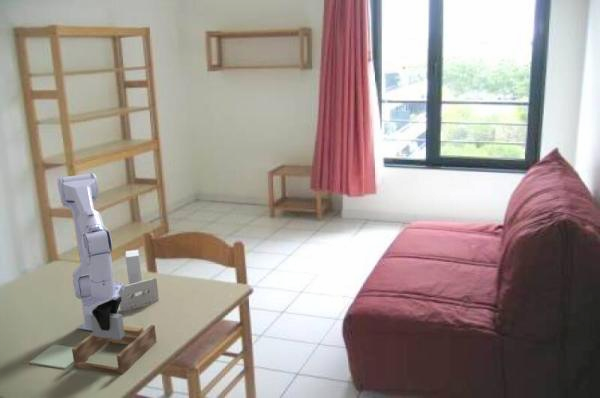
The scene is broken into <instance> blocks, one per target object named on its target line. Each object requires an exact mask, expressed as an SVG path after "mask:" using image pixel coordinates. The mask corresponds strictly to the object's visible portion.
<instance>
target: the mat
mask: <svg viewBox="0 0 600 398" xmlns="http://www.w3.org/2000/svg"><path fill="white" fill-rule="evenodd" d="M74 347H75V346H73V347H72V346H65V345H58V344H52V345H51V346H49V347H48V348H47V349H45V350H44V351H43V352H41V353H39V355H37V356H36V357H34V358H33V359H31V360H30V361H29V364H32V365H38V366H43V367H51V368H56V369H62V370H66V369H68V368H70V366H71V365H73V364H74V359H73V353H72V349H73V348H74Z"/></svg>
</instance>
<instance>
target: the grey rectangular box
mask: <svg viewBox="0 0 600 398" xmlns="http://www.w3.org/2000/svg"><path fill="white" fill-rule="evenodd" d="M90 317H91V324H92V330H93V331H92V333H93V336H97V337H104V338H112V339H122V338H123V337H124V336H125V333H124V326H123V325H124V319H123V315H122V314H121V313H118V314H114V313H110V329H109V330H108V331H105V330H101V328H100V326H99V324H98V322H97V320H96V318H95V317H94V315H93V314H90Z"/></svg>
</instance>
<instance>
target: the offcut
mask: <svg viewBox="0 0 600 398" xmlns="http://www.w3.org/2000/svg"><path fill="white" fill-rule="evenodd" d="M123 326H124V333H125V336H124V337H123V338H122V339H112V338H111V340H110V342H111V343H113V342H114V343H115V344H122V345H127V346H128V345H129V344H130V343H132V342H133V341H134V340H135V339H136V338H137V337H138V336H140V335H141V334H142V333H143V332H144V331H145V330H144V327H143V326H137V325H129V324H123ZM114 343H113V344H114Z"/></svg>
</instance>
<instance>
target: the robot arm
mask: <svg viewBox="0 0 600 398" xmlns="http://www.w3.org/2000/svg"><path fill="white" fill-rule="evenodd" d="M57 187H58V193H59V198H60V203H61V204H62V207H67V208H69V210H70V213H72V217H73V223H74V230H75V235H76V241H77V247H78V253H79V258H80V259H79V260H80V264H79V266H78V267H77V268H76V269H75V270H74V271H73V273H72V282H73V283H72V284H73V291H74V293H75V294H74V295H75V298H76V299H78V300H81V308H82V314H83V320H84V322H83V323H82V324H81V325H79V326H78V330H83V331H84V330H86V331H92V332H93V330H92V324H91V317H90V314H93V315H94V317H95V318H96V320H97V322H98V324H99V326H100V328H101V330H105V331H108V330H109V329H110V313H114V314H119V313H118V311H119V309H120V303H121V301H122V300H121V297H120V296H119V294H118V293H119V291H123V290H125V289H124V286H125V284H124V282H115V276H114V268H113V261H112V252H113V241H112V240H113V239H112V237H111V233H110V231H109V229H108V228H107V226H105V223H104V221H103V218H102V215H101V213H100V212H99V211H98V210H96V209H95V207H94V206H95V205H94V203H95V202H96V201H97V199H98V195H99V183H98V177H97V175H96V174H95V173H94V172H90V173H85V174H78V175H70V176H58V178H57Z"/></svg>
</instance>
